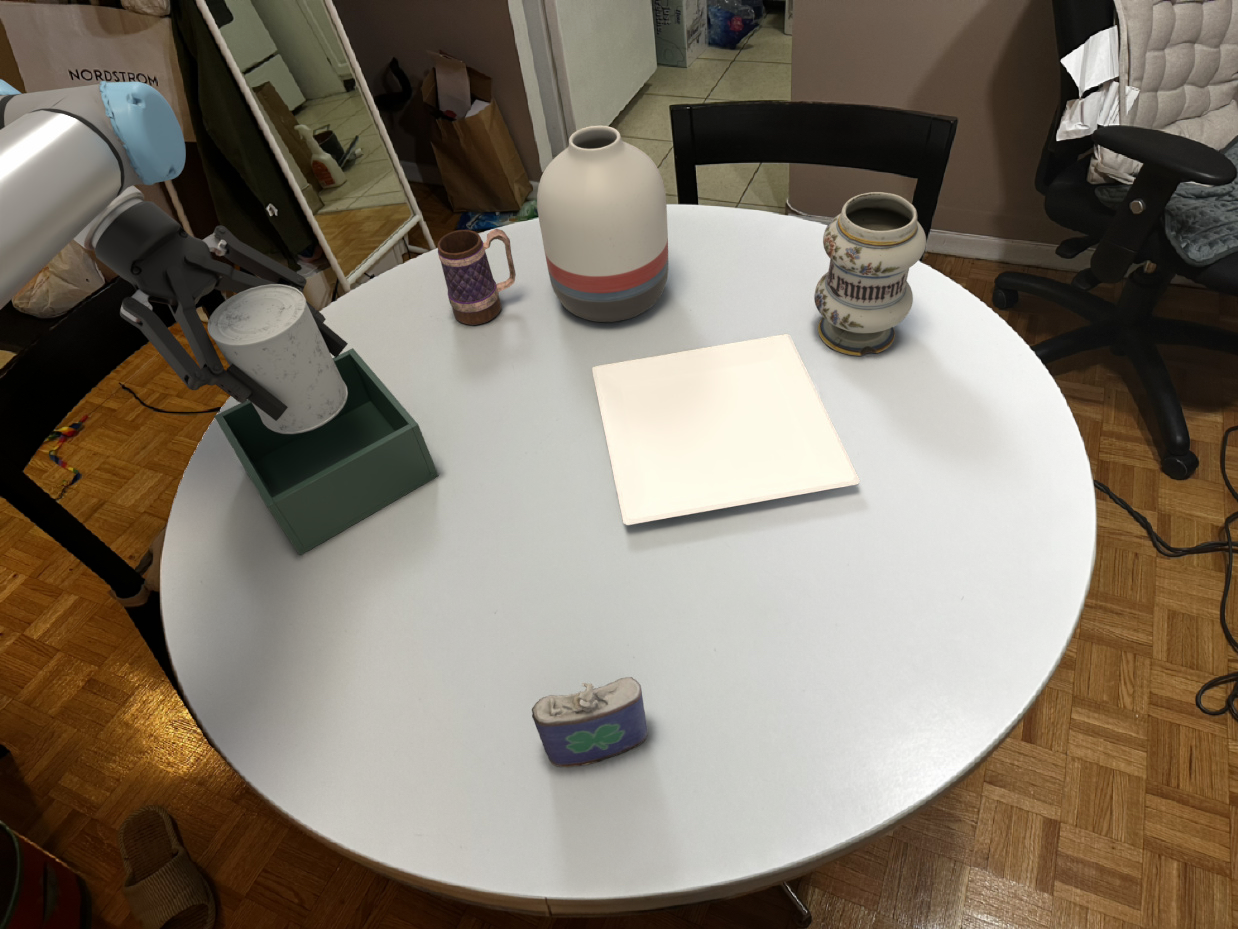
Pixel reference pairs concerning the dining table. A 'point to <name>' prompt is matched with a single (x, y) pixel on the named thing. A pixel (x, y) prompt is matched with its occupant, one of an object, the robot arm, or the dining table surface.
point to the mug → (472, 275)
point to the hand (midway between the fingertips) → (313, 381)
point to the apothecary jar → (868, 272)
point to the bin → (333, 459)
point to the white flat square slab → (717, 429)
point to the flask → (591, 723)
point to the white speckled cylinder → (281, 354)
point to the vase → (604, 226)
